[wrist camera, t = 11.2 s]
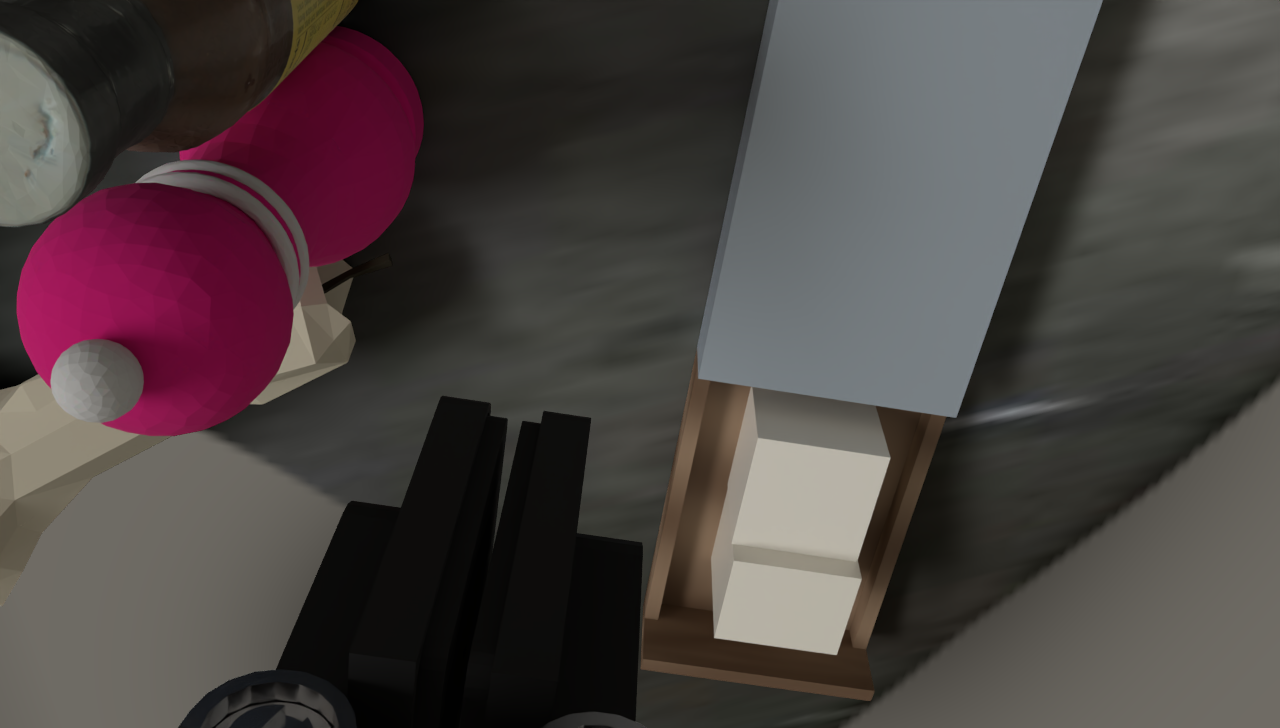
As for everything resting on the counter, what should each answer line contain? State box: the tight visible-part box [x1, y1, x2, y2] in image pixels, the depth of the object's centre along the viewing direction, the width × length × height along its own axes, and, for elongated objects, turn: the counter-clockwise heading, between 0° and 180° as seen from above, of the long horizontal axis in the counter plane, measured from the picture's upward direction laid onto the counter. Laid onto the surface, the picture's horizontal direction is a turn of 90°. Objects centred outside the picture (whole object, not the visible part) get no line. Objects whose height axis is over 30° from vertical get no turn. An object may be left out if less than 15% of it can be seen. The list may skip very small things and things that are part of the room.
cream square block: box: [711, 490, 862, 655], centre depth 46 cm, size 5×5×4 cm
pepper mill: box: [17, 26, 424, 436], centre depth 32 cm, size 7×7×20 cm
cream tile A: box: [728, 387, 891, 562], centre depth 44 cm, size 5×5×4 cm
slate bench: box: [697, 0, 1103, 418], centre depth 39 cm, size 20×10×2 cm, turn 171°
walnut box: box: [641, 350, 946, 701], centre depth 46 cm, size 14×10×4 cm
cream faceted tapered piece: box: [0, 253, 392, 606], centre depth 43 cm, size 9×9×25 cm
